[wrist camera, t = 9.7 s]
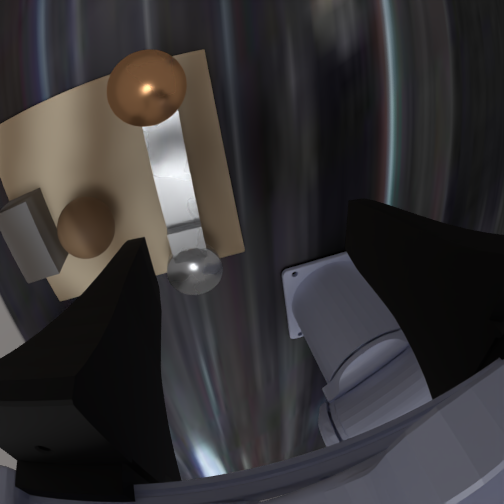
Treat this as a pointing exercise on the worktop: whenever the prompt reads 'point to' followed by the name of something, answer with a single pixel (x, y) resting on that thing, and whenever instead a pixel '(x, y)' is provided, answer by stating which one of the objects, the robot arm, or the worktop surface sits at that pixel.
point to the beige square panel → (107, 179)
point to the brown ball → (86, 227)
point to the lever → (166, 160)
